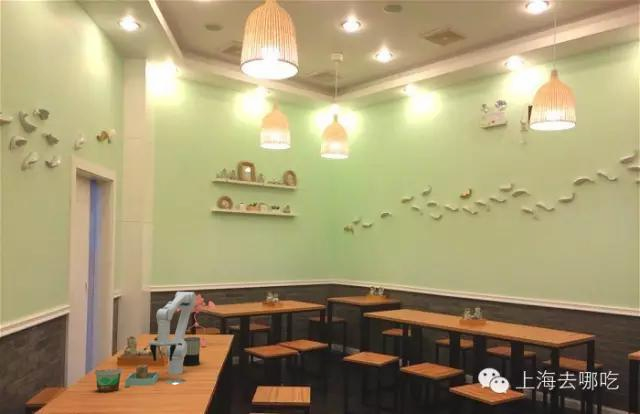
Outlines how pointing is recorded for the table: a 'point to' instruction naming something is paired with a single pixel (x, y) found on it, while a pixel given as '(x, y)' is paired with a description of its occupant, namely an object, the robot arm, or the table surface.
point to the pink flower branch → (199, 307)
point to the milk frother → (192, 351)
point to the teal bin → (133, 381)
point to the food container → (108, 380)
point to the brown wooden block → (142, 372)
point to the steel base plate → (175, 381)
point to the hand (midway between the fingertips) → (162, 360)
